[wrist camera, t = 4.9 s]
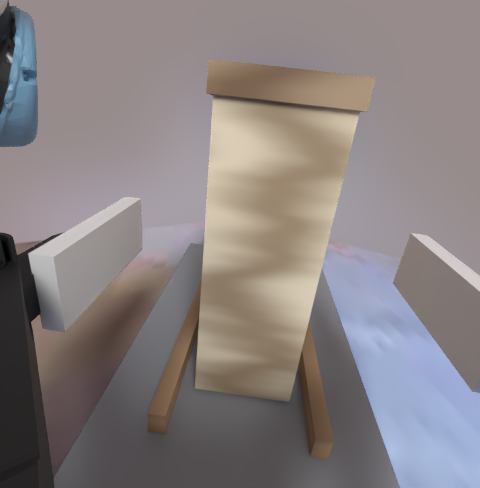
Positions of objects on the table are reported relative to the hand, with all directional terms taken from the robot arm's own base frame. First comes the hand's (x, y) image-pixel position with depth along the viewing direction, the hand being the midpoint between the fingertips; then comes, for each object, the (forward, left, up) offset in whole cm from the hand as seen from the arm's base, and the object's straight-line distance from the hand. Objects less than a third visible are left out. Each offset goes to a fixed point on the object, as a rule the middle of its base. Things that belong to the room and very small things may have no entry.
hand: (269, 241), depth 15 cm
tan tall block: (0, +2, -8) cm, 8 cm away
